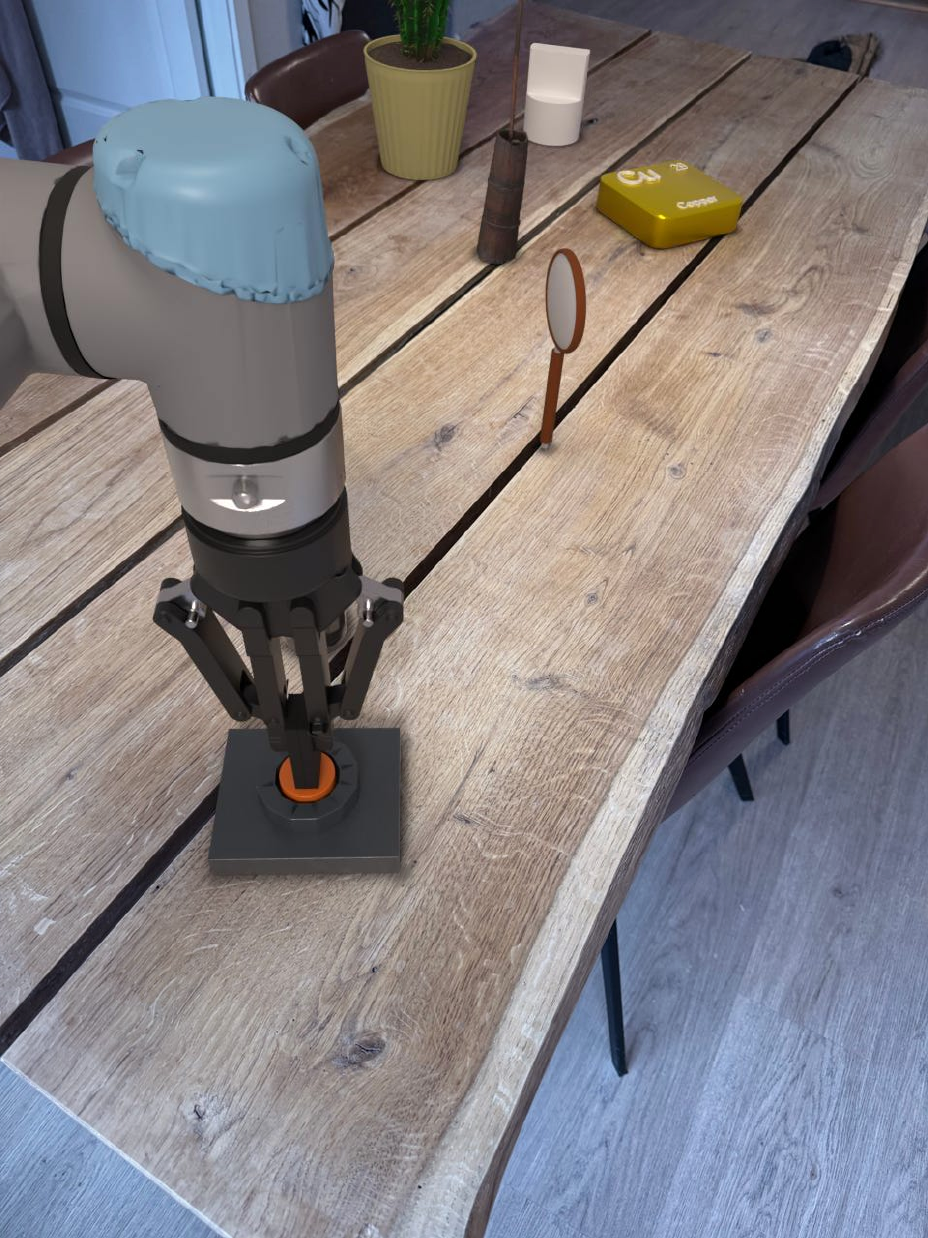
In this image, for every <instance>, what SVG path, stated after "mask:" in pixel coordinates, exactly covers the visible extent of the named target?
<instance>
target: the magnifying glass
mask: <svg viewBox="0 0 928 1238" xmlns="http://www.w3.org/2000/svg"><path fill="white" fill-rule="evenodd" d="M547 267H548V268H547V272H546V278H545V279H546V280H545V295H544V296H545V297H544V298H545V315H546V322H547V328H548V331H549V335H550V339H551V341H552V343H553V345H554V347H553V348H552V349H551V351H550V352H551V353H550V357H549V358H550V359H549V366H548V375H547V382H546V390H545V396H544V397H545V398H544V405H543V406H544V407H543V411H542V412H543V413H542V419H541V420H542V421H541V427H540V435H539V442H540V443H541V445H540V447H541V448H542V449H543V450H547V449H549V447H550V444H552V442H553V436H554V430H555V429H554V428H555V421H556V415H557V408H558V402H559V401H558V400H559V394H560V387H561V381H562V380H561V379H562V373H563V366H564V360H565V355H568V354H572V353H574V352H576V351H577V350H578V348H579V346H580V344H581V342H582V339H583V337H584V332H585V326H586V320H587V319H586V318H587V317H586V316H587V292H586V283H585V277H584V273H583V269H582V266H581V262H580V261H579V257H578V256H577V254H576V253H575V251H574V250H572V249H571V248H566V247H564V248H563V247H562V248H559V249H557V250H556V251H555V252H553V254H552V256H551V258H550V261H549V263H548V266H547Z"/></svg>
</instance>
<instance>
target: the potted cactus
mask: <svg viewBox="0 0 928 1238" xmlns="http://www.w3.org/2000/svg"><path fill="white" fill-rule="evenodd" d="M391 1H393V2H392V3H391V6H390V9H392V8H393V6H394V5H395V8H396V10H394V14H395V15H391V17H395V18H393V20H392V21H391V23H392V22H394V21H395V20H396V19H398V26H397V28H399V29H397V30H395V33H397V32H398V31H399V34H393V35H386V36H382V37H379V38H376V39H373V40H371V41H369V42H368V43H367V44H365V45H364V48H363V55H364V63H365V69H366V74H367V81H368V87H369V94H370V100H371V106H372V113H373V119H374V126H375V131H376V137H377V138H376V139H377V145H378V152H379V157H380V163H381V166H382V168H383V170H385V171H386V172H387V173H389V174H391V175H393V176H396V177H398V178H401V179H406V180H415V181H429V180H436V179H441V178H445V177H448V176H450V175H451V174H453V173H454V172H455V171H456V170H457V167H458V162H459V155H460V151H461V145H462V139H463V134H464V133H463V132H464V127H465V122H466V116H467V111H468V110H467V109H468V104H469V99H470V92H471V86H472V80H473V76H474V69H475V65H476V63H475V62H476V59H477V51H476V49H475V48H474V47H472V45H470V44H468V43H466V42H463V41H461V40H458V39H455V38H451V37H447V36H445V35H446V34H447V35H448V33H449V34H450V31H449V30H448V29H447V27H446V26H447V23H448V22H450V21H451V22H452V20H451V19H450V17H448V9H449V12H453V14H454V13H455V11H454V10H452V9H450V6H449V5H450V4H451V2H452V3H453V1H452V0H389V1H388V3H390V2H391ZM381 2H383V0H381Z"/></svg>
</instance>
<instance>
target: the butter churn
mask: <svg viewBox="0 0 928 1238" xmlns="http://www.w3.org/2000/svg"><path fill="white" fill-rule="evenodd" d="M523 6H524V0H518V1H517V13H516V23H515V24H516V27H515V43H514V59H513V75H512V76H513V77H512V88H511V101H510V105H511V106H510V116H509V128H507V129H506V128H501V129H499V130H497V132H496V135H495V139H494V145H493V152H492V158H491V164H490V171H489V175H488V177H487V187H486V192H485V193H486V194H485V200H484V205H483V212H482V215H481V216H482V217H481V222H480V226H479V227H480V228H479V232H478V238H477V245H476V253H477V257H478V259H479V260H481V261H483V262H486V263H488V264H493V265H494V264H495V265H503V264H504V263H507V262H510V261H512V260H514V259H516V257H517V250H518V240H519V232H520V231H519V230H520V227H521V224H522V223H521V211H522V205H523V196H524V195H523V194H524V187H525V183H526V182H525V179H526V171H527V162H528V161H527V160H528V153H529V152H528V149H529V148H528V147H529V144H530V142H529V140H528V137H527V133H526V132H525V131H523V130H518V129H515V121H516V114H515V112H516V111H517V110H516V100H517V89H518V85H517V84H518V73H519V72H518V71H519V61H520V59H519V58H520V50H521V32H522V20H523Z"/></svg>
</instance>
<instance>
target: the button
mask: <svg viewBox="0 0 928 1238" xmlns="http://www.w3.org/2000/svg"><path fill="white" fill-rule="evenodd" d="M279 779H280V784H281V789H282V794H283V797H285V798H287V799H289V800H291V801H293V802H294V803H315V802H317V801H319V800H321V799H323V798H325V797H328V796H329V795H330V794H331V793H332V791H333V790H334V789H335V787H336V786H337V783H336V774H335V767H334V764H333V762H332V761H331V759H330V758H329V757H328V756H327V755H325V754H323V753H321V763H320V775H319V788H318V789H295V786H294V781H293V775H292V770H291V765H290V759H289V758H288V759H286V761H285V762H284V763H283V765H282V767H281V769H280V773H279Z"/></svg>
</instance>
